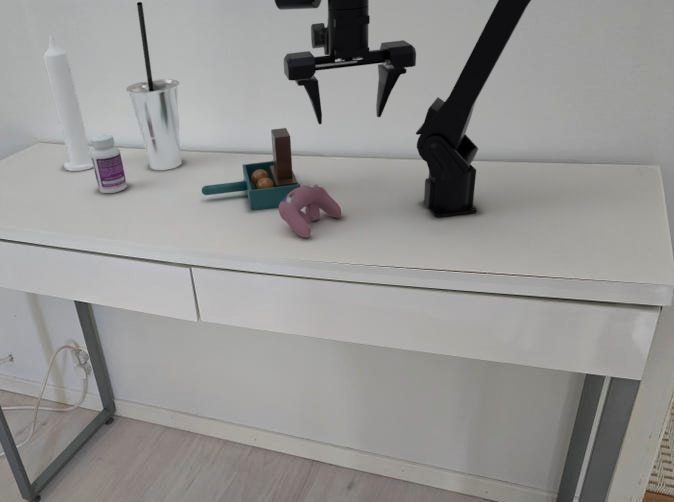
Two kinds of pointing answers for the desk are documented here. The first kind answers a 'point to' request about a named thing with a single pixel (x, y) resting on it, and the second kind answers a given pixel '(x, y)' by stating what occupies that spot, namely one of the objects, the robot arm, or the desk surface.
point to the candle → (67, 108)
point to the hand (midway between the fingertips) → (349, 120)
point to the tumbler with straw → (157, 113)
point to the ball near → (265, 183)
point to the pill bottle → (107, 164)
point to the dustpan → (254, 188)
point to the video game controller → (307, 207)
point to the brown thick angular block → (282, 159)
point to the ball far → (258, 176)
